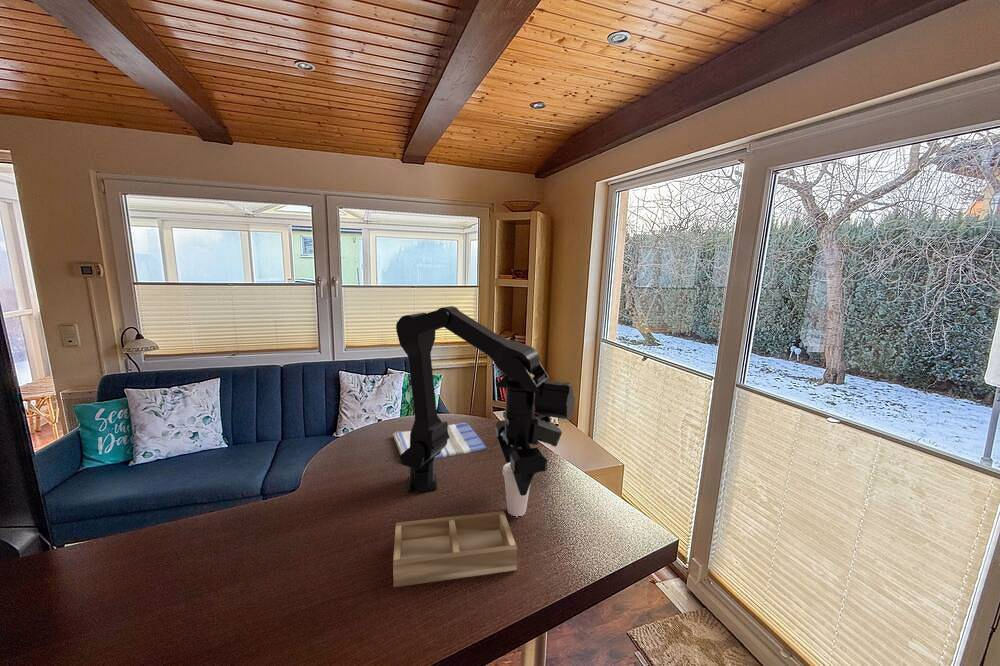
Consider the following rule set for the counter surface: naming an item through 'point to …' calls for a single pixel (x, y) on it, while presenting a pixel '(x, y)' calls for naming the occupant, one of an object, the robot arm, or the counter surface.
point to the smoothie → (514, 493)
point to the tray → (452, 548)
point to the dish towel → (448, 441)
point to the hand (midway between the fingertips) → (517, 482)
